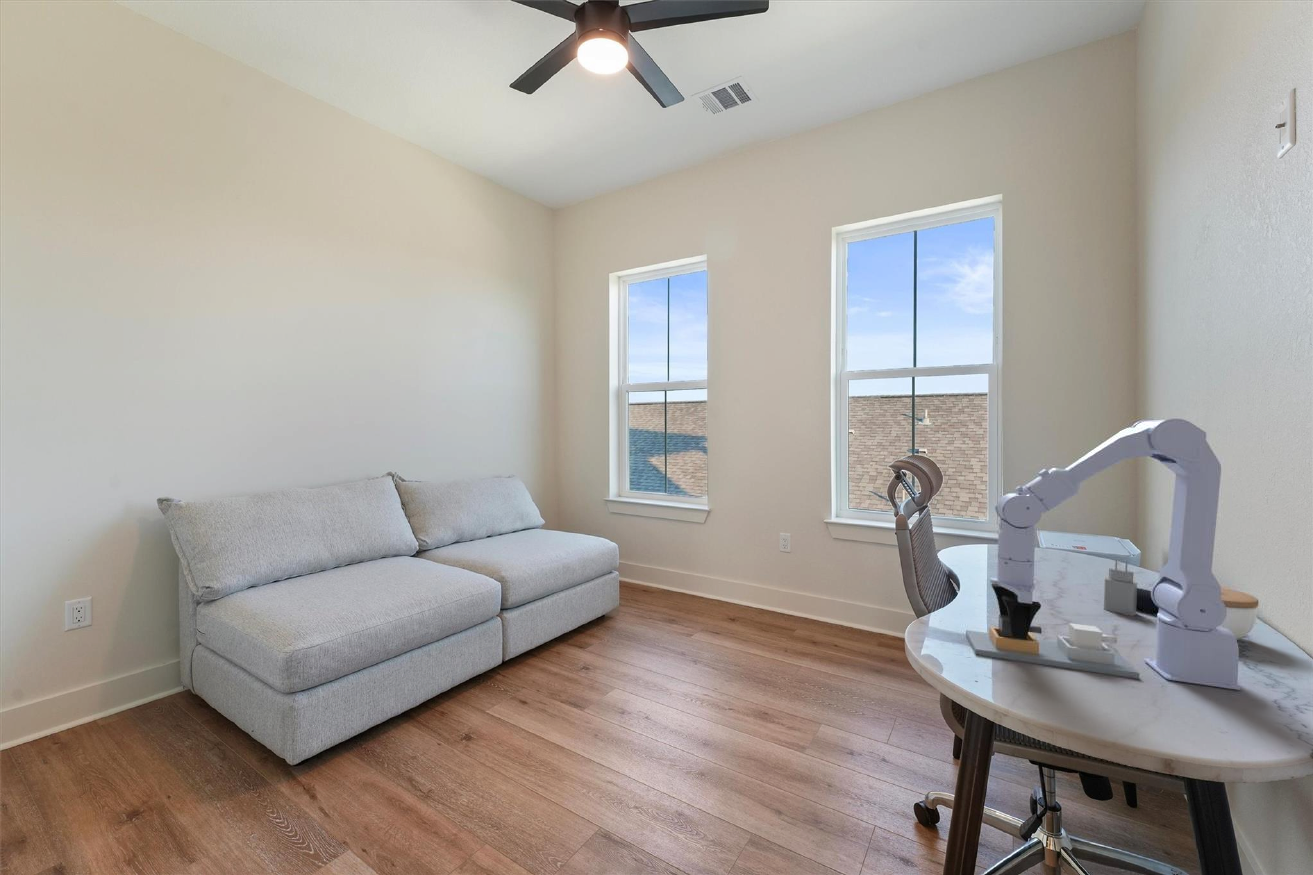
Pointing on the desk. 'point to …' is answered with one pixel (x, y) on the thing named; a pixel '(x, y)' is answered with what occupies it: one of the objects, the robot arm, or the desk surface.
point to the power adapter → (1120, 591)
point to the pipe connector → (1146, 601)
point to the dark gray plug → (1006, 632)
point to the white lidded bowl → (1239, 612)
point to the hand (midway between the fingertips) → (1013, 629)
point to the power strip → (1057, 650)
